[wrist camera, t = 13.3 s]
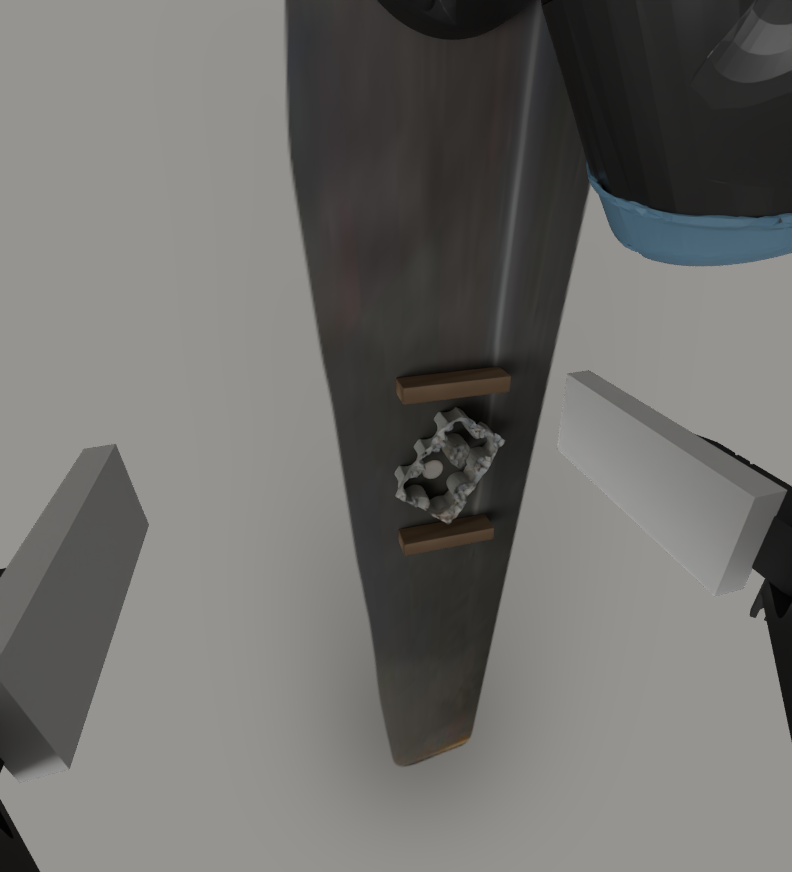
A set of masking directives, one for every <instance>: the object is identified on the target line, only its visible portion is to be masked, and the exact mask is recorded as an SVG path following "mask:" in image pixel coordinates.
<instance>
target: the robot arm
mask: <svg viewBox="0 0 792 872" xmlns="http://www.w3.org/2000/svg"><path fill="white" fill-rule="evenodd" d="M378 1H379V2H380V3H381V5H382V6H383V7H384V8H385V9H386V10H387V11H388V12H389V13H391V14H392V15H393V16H394V17H395V18H397V19H398V20H399V21H401V22H402V23H403V24H405V25H407V26H408V27H410V28H412V29H414V30H416V31H418V32H420V33H422V34H425V35H428V36H431V37H435V38H440V39H451V40H454V39H465V38H471V37H475V36H478V35H481V34H483V33H486V32H488V31H490V30H492V29H494V28H495V27H497V26H499V25H500V24H502V23H503V22H505V21H506V20H508V19H510V18H511V17H513V16H514V15H515V14H517V13H518V12H519V11H521V10H522V9H523V8H524V7H525V6H526V5H527V4H528V3H529V2H531V1H532V0H378ZM541 3H543V4H542V5H541V6H542V9H543V12H544V16H545V19H546V22H547V25H548V29H549V32H550V35H551V39H552V42H553V45H554V49H555V52H556V55H557V59H558V62H559V65H560V69H561V72H562V75H563V79H564V82H565V85H566V89H567V92H568V95H569V99H570V102H571V106H572V109H573V113H574V116H575V120H576V123H577V127H578V131H579V134H580V138H581V141H582V145H583V149H584V152H585V156H586V159H587V164H586V165H587V174H588V178H589V181H590V183H591V185H592V187H593V188H594V189H595V191H596V192H597V193H598V194H599V197H600V199H601V202H602V205H603V208H604V211H605V214H606V217H607V220H608V222H609V225H610V227H611V230H612V231H613V233H614V235H615V236H616V238H617V239H618V240H619V241H620V242H621V243H622V244H623V245H624V246H625V247H627V248H629V249H631V250H633V251H635V252H638V253H639V254H641V255H642V256H644V257H645V258H648V259H651V260H654V261H659V262H663V263H667V264H674V265H683V266H720V265H732V264H740V263H747V262H754V261H759V260H764V259H769V258H774V257H778V256H781V255H785V254H789V253H792V0H541ZM557 449H558V450H559V451H560V452H561V453H562V454H563V455H564V456H565V457H566V458H567V459H568V460H570V461H571V462H572V463H573V464H574V465H575V466H576V467H577V468H578V469H579V470H580V471H581V472H582V473H583V474H585V476H587V477H588V478H589V479H590V480H591V481H592V482H593V483H594V484H595V485H596V486H597V487H598V488H599V489H600V490H601V491H603V492H604V493H605V494H606V495H607V496H608V497H609V498H610V499H611V500H612V501H613V502H614V503H615V504H616V505H617V506H619V507H620V508H621V509H622V510H623V511H624V512H625V513H626V514H627V515H628V516H629V517H630V518H631V519H632V520H633V521H635V522H636V523H637V524H638V525H639V526H640V527H641V528H642V529H643V530H644V531H645V532H646V533H647V534H648V535H650V536H651V537H652V538H653V539H654V540H655V541H656V542H657V543H658V544H659V545H660V546H661V547H662V548H663V549H665V550H666V551H667V552H668V553H669V554H670V555H671V556H672V557H673V558H674V559H675V560H676V561H677V562H678V563H680V565H681V566H683V567H684V568H685V569H686V570H687V571H688V572H689V573H690V574H691V575H692V576H693V577H694V578H695V579H696V580H697V581H699V582H700V583H701V584H702V585H703V586H704V587H705V588H706V589H707V590H708V591H709V592H710V593H711V594H713V596H718V595H722V594H726V593H729V592H733V591H737V590H741V589H743V588H744V586H745V584H746V582H747V579H748V577H749V575H750V573H751V570H752V568H753V569H754V570H756V571H757V572H758V573H759V574H761V575H762V576H763V577H764V578H765V580H764V582H763V584H762V587H761V589H760V591H759V593H758V595H757V597H756V599H755V601H754V604H753V606H752V608H751V611H750V616H751V617H754V618H756V616H757V614H758V612H759V610H760V609H762V608H764V610H765V615H766V617H765V619H764V620H765V621H767V625H768V629H769V634H770V639H771V644H772V649H773V654H774V658H775V663H776V668H777V673H778V677H779V682H780V687H781V692H782V697H783V702H784V707H785V711H786V716H787V721H788V726H789V730H790V735H791V740H792V487H791V486H790V485H789V484H787V483H785V482H783V481H782V480H780V479H778V478H777V477H775V476H773V475H772V474H770V473H768V472H767V471H765V470H763V469H761V468H760V467H758V466H756V465H755V464H750V461H748V460H746V459H745V458H743V457H741V456H739V455H735V453H734V452H732V451H731V450H729V449H728V448H726V447H724V446H723V445H721V444H719V443H718V442H715V441H712V440H710V439H707V438H704V437H701V436H698V435H696V434H694V433H692V432H690V431H688V430H686V429H685V428H684V427H682V426H680V425H679V424H677V423H675V422H674V421H672V420H670V419H669V418H667V417H665V416H664V415H662V414H660V413H659V412H657V411H655V410H654V409H652V408H651V407H649V406H647V405H645V404H644V403H642V402H640V401H639V400H637V399H636V398H634V397H632V396H631V395H629V394H627V393H626V392H624V391H622V390H621V389H619V388H617V387H616V386H614V385H612V384H611V383H609V382H607V381H606V380H604V379H602V378H601V377H599V376H598V375H596V374H594V373H593V372H591V371H589V370H588V371H582V372H575V373H569V374H567V379H566V386H565V394H564V401H563V408H562V415H561V423H560V430H559V437H558V445H557ZM148 525H149V524H148V522H147V519H146V517H145V514H144V512H143V510H142V507H141V505H140V502H139V500H138V497H137V495H136V493H135V490H134V487H133V485H132V483H131V480H130V478H129V475H128V473H127V470H126V468H125V465H124V463H123V461H122V458H121V456H120V453H119V451H118V449H117V446H116V444H113V445H106V446H100V447H93V448H87V449H84V450H83V451H82V453H81V454H80V456H79V457H78V459H77V460H76V462H75V463H74V465H73V466H72V468H71V469H70V471H69V473H68V474H67V476H66V478H65V479H64V480H63V482H62V483H61V485H60V487H59V488H58V489H57V491H56V493H55V494H54V496H53V497H52V499H51V500H50V502H49V503H48V505H47V506H46V508H45V509H44V511H43V513H42V514H41V516H40V517H39V519H38V520H37V522H36V523H35V525H34V526H33V528H32V529H31V531H30V533H29V534H28V536H27V537H26V539H25V540H24V542H23V543H22V545H21V547H20V548H19V550H18V551H17V553H16V554H15V556H14V557H13V559H12V560H11V562H10V563H9V565H8V566H7V568H4V569H0V772H1V770H2V767H3V765H4V766H5V767H6V768H7V769H8V770H9V772H10V773H11V774H12V775H13V776H14V777H15V778H16V779H17V780H18V781H19V782H20V783H21V782H25V781H28V780H32V779H36V778H40V777H43V776H47V775H51V774H55V773H58V772H62V771H66V770H69V769H70V766H71V763H72V760H73V757H74V754H75V751H76V748H77V745H78V741H79V738H80V735H81V732H82V729H83V726H84V723H85V720H86V717H87V713H88V710H89V708H90V704H91V701H92V698H93V695H94V692H95V689H96V686H97V683H98V680H99V677H100V673H101V670H102V668H103V664H104V661H105V658H106V655H107V652H108V649H109V646H110V643H111V640H112V637H113V634H114V631H115V628H116V624H117V621H118V618H119V615H120V612H121V609H122V606H123V603H124V600H125V596H126V594H127V591H128V587H129V584H130V581H131V578H132V575H133V572H134V569H135V566H136V563H137V560H138V557H139V554H140V550H141V547H142V544H143V541H144V538H145V535H146V532H147V529H148ZM0 872H40V871H39V869H38V867H37V865H36V864H35V862H34V860H33V858H32V856H31V854H30V852H29V851H28V849H27V847H26V845H25V843H24V842H23V840H22V838H21V836H20V834H19V832H18V831H17V829H16V827H15V825H14V823H13V822H12V820H11V818H10V816H9V814H8V813H7V811H6V809H5V807H4V805H3V804H2V801H1V800H0Z"/></svg>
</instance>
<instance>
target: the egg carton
mask: <svg viewBox="0 0 792 872" xmlns="http://www.w3.org/2000/svg"><path fill="white" fill-rule="evenodd" d="M434 421H435V422H436V424H437V427H438V429H437V432H436V434H435V435H434V436H433V437H432V438H430V439H427V440H422V439H419V440H418V441H417V442H416V444H415V445H414V449H415V450H416V452H417V453H418V456H417V459H416V461H415V462H414V463H413V464H411V465H409V466H405V467H403V466H399V467H398V468H397V470H396V471H395V476H396V477H397V479H398V481H399V484H398V491H397V493H396V495H395V496H396V497H397V498H399V499H401V500H402V501H404V502H405V501H406V502H408V503H410V504H412V505H413V506H415V507H417V506H418V507H420V508H422V509H424V510H425V511H426V512H428V513H429V514H431V515H432V516H434V517H436V518H438V519H440V520H442V521H444V522H445V523H447V524H448V525H449V524H450V523H451V522H452V520H453V519H455V518H456V517H457V516H458V514H459V512H460V511H462V509H463V507H464V505H465V504H466V498H467V496H468V495H469V494H470V493H471V492H472V491H473V490H474V489H475V488H476V484H477V482H478V481H479V480H480V478H481V477H482V475H483V474H485V473H486V472H487V470H488V468H489V466H490V465H491V463H492V461H493V458H494V456H495V455H496V453H497V450H498V448H499V447H501V446H502V445H503V444H504V442H505V440H503V439H502V438H501V437H500V436H499V435H498V434H496V433H493V432H492V431H491V430H490V429H489V427H488V426H487V425H486V424H484V423H482V422H479V423H478V424H476V423H475V422H474V421H473V420H471V419H469V418H468V417H467V416H466V415H465V413H464V412H463V411H462V410H461V409H459V408H457V407H455V408H454V409H453V410H451V411H449V412H445V413H444V412H438V414H437V415H436V416H435V418H434ZM458 421H462V424H463V425H464V426H465V428H466V429H467V430H468V431H469V432H470V434H471V435H472V436H473V437H474V438H475V439H479V438H480V437H481V438H484V437H486V438H487V439H488V440H487V442H486V443H485V444H484V445H483V447H474V448H471V449H470V447H469V446H468V444H467V443H466V442H465V441H464V439H463V437H461V436H460V435H459V434H456V433H452V434H448V435H447V436H446V435H445V431H447V432H449V430H452V429H453V424H454V422H458ZM465 440H466V439H465ZM441 447H442V450H443V452H444V453H445V455H446V456H447V458H448V459H449V461H450V462H451V463H452V464H453V465H455V466H456V467H457V468H462V467H463V466H464V465H465V463H466V462H467V466H466V467H465V469H464V471H463V472H455V473H453V474H451V475H450V476H449V477H448V479H447V482H446V484H447V487H448V489H449V490H448V491H447V493H446V494H445V495H443V496H436V497H434V498H432V499H431V500H430V501H429V498H428V496H427V495H426V493H425V491H424V489H423V487H421V486H420V485H411V486H409V487H407V488H406V489H404V488H403V486H404V483H405V482H406V481H407V480H408V479H409V478H414V477H415V478H417V477H418V475H420V474H421V472H422V474H423V476H424V477H426V478H428V479H432V478H436V477H438V476H439V475H440V474H441V472H442V470H443V464H442V463H441V462H440V461H439V460H431V461H428V462H427V463H426V464H424V462H423V461H422V458H424V457H425V456H426V455H430V454H431V452H432V451H434V452H439V450H440V448H441ZM425 452H427V454H425Z"/></svg>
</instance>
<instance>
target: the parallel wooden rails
mask: <svg viewBox="0 0 792 872" xmlns="http://www.w3.org/2000/svg"><path fill="white" fill-rule="evenodd" d="M510 380H511V376H510V375H509V374H508V373H506V372H505V371H504V370H502V369H501V368H500V367H491V368H482V369H473V370H464V371H455V372H446V373H437V374H428V375H419V376H410V377H401V378H396V394H397V395H398V397H399V398H400V400H401V401H402V403H403V404H404V405H405V404H413V403H421V402H429V401H437V400H445V399H453V398H461V397H469V396H477V395H485V394H493V393H501V392H509V389H510ZM493 533H494V527H493V526H492V524H491V523H490V521H489V520H488V518H487V517H486V515H485V514H481V515H476V516H470V517H465V518H459V519H454V520H452V522H451V523H450V524H449V525H448V524H447V523H445V522H444V521H443V522H437V523H432V524H426V525H421V526H415V527H410V528H404V529H399V542H400V545H401V547H402V550H403V553H404V555H405V556H406V555H412V554H417V553H422V552H427V551H432V550H437V549H442V548H447V547H453V546H458V545H463V544H468V543H473V542H478V541H483V540H489V539H493Z"/></svg>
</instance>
